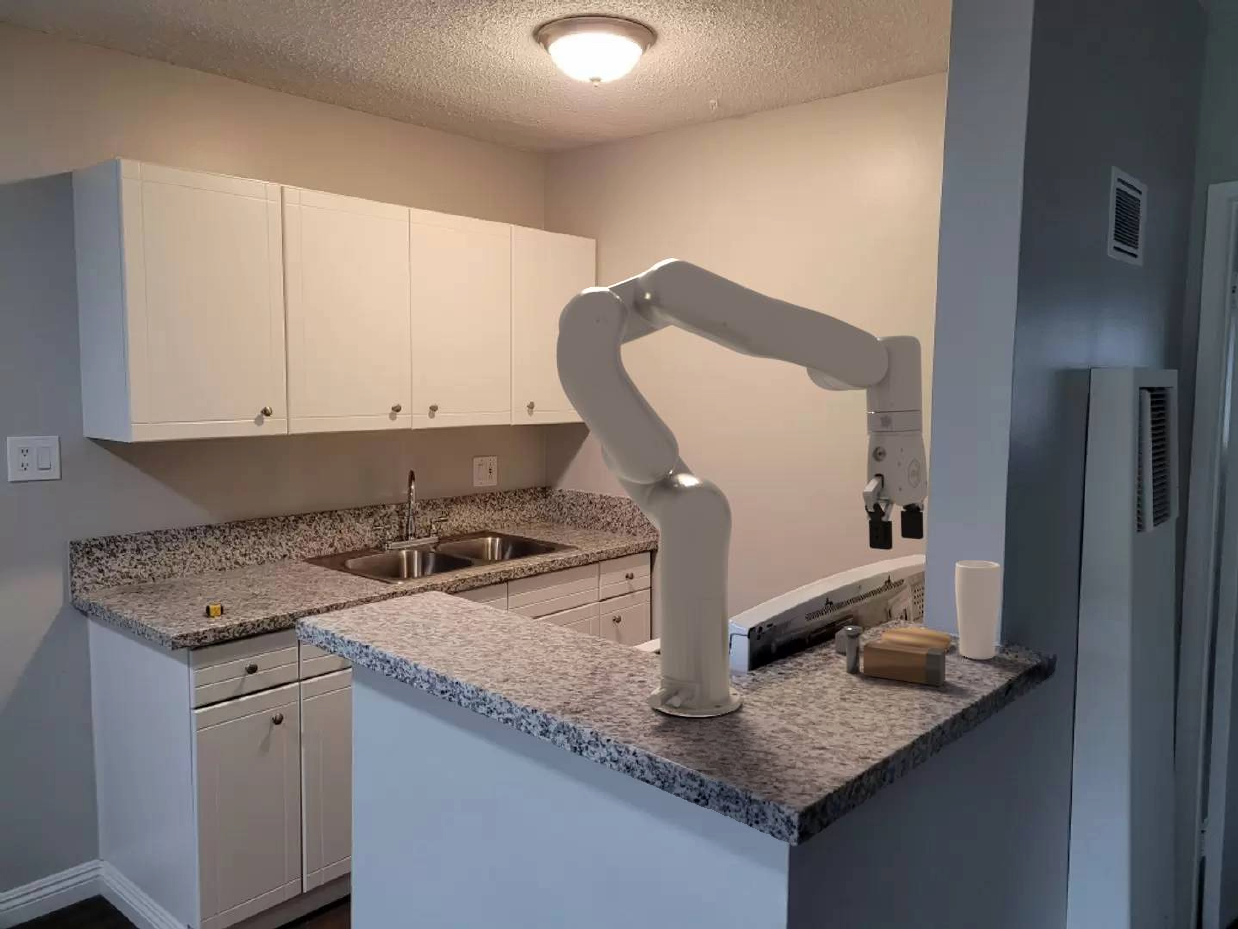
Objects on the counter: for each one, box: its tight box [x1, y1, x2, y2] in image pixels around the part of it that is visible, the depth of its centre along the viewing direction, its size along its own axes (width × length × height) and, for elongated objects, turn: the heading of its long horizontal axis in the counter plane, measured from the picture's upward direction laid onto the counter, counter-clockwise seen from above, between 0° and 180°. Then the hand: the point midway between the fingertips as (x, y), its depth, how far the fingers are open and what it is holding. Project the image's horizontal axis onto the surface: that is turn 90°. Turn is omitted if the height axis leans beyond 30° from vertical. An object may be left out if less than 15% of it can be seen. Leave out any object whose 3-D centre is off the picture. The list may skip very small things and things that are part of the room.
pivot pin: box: [843, 625, 864, 674], centre depth 137 cm, size 3×3×7 cm
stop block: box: [834, 628, 846, 654], centre depth 149 cm, size 4×2×3 cm, turn 149°
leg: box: [862, 641, 946, 687], centre depth 133 cm, size 3×11×5 cm, turn 59°
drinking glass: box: [954, 559, 1002, 661], centre depth 143 cm, size 7×7×15 cm
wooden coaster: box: [881, 627, 952, 650], centre depth 151 cm, size 11×11×2 cm
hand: (897, 543), depth 128 cm, fingers open, 9 cm apart
